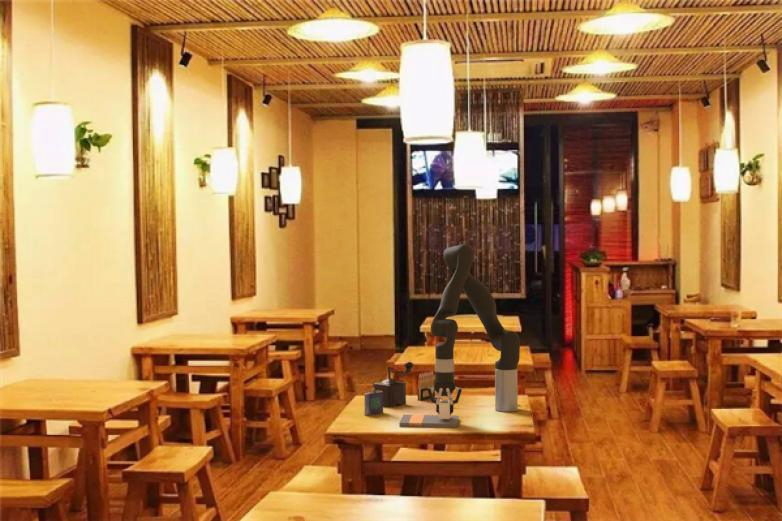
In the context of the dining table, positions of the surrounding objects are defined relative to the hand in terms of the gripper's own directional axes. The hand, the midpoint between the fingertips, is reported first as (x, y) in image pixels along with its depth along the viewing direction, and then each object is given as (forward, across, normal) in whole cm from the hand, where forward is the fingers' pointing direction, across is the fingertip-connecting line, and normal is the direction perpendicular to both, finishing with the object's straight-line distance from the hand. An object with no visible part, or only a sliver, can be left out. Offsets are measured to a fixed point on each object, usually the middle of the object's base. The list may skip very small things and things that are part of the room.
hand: (444, 413), depth 364 cm
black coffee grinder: (+4, +24, -38) cm, 45 cm away
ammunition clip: (+4, +11, -50) cm, 51 cm away
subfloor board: (+4, +6, 0) cm, 7 cm away
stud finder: (+1, 0, 0) cm, 1 cm away
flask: (+4, +30, -16) cm, 34 cm away
